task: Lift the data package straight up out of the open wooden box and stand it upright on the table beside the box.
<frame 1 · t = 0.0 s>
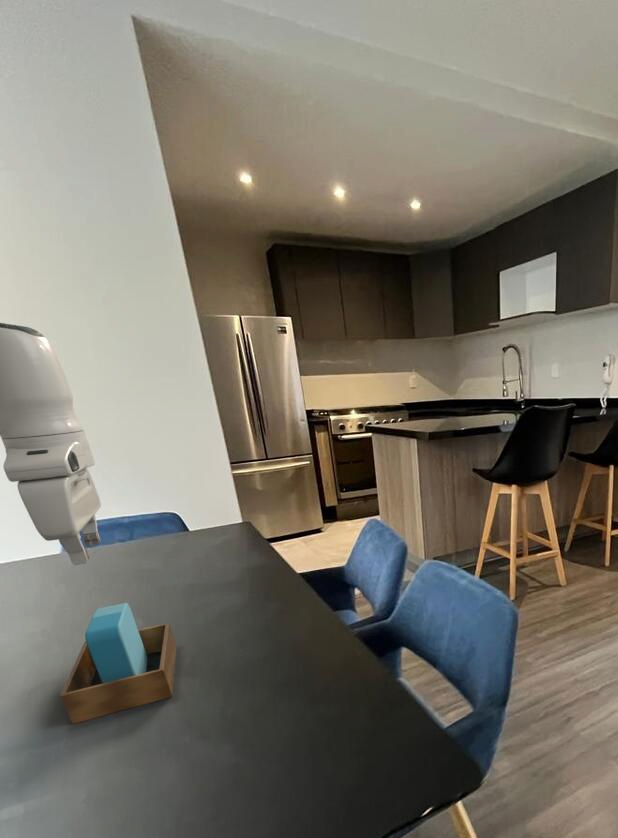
hand: (88, 553, 71), 23 cm above the table, tool pointing down, fingers open, 8 cm apart
wooden box: (130, 680, 82), on the table
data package: (131, 681, 82), resting in wooden box
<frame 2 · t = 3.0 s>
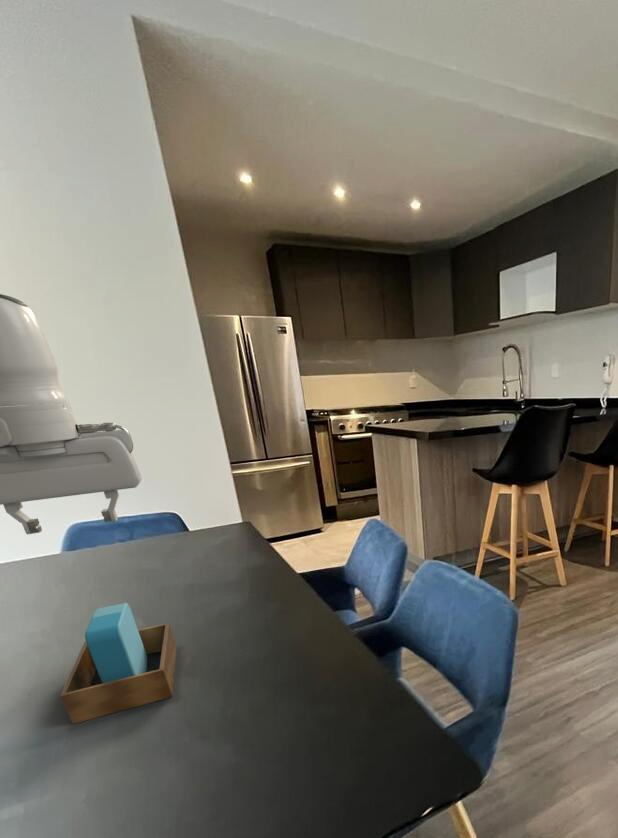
hand: (74, 526, 72), 27 cm above the table, tool pointing down, fingers open, 8 cm apart
nothing on the table moved.
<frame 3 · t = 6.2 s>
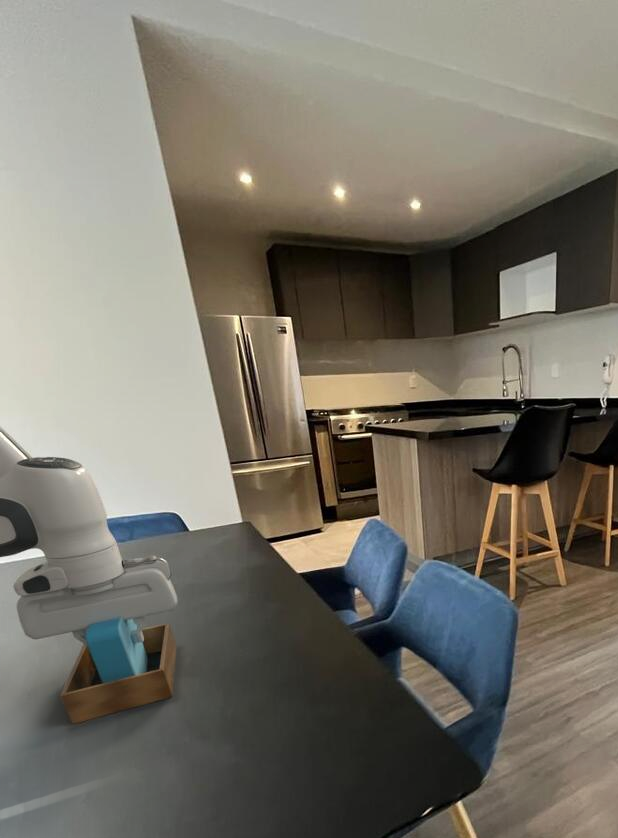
hand: (118, 646, 80), 7 cm above the table, tool pointing down, fingers closed on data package, 4 cm apart
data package: (131, 681, 82), resting in wooden box, touching gripper
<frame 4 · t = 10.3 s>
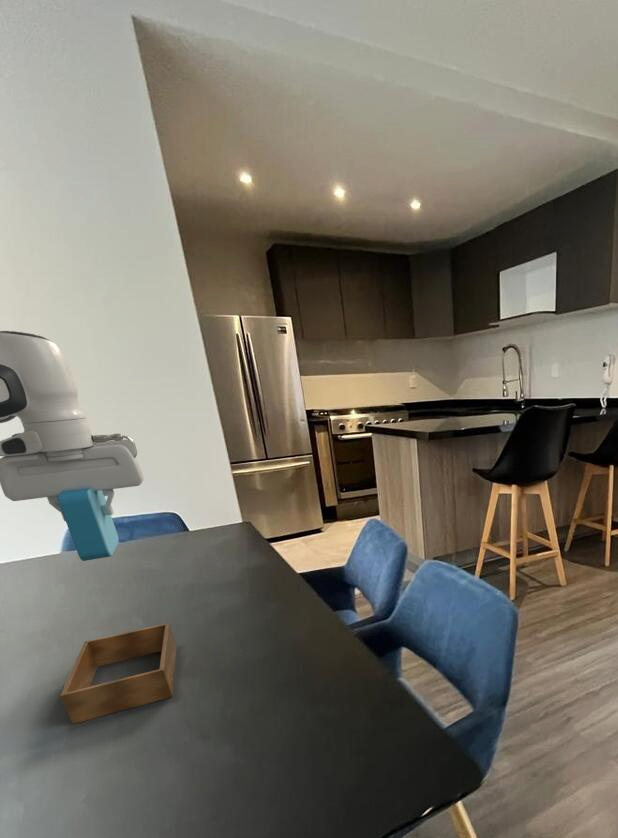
hand: (89, 517, 89), 24 cm above the table, tool pointing down, fingers closed on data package, 4 cm apart
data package: (102, 552, 92), point 17 cm above the table, touching gripper
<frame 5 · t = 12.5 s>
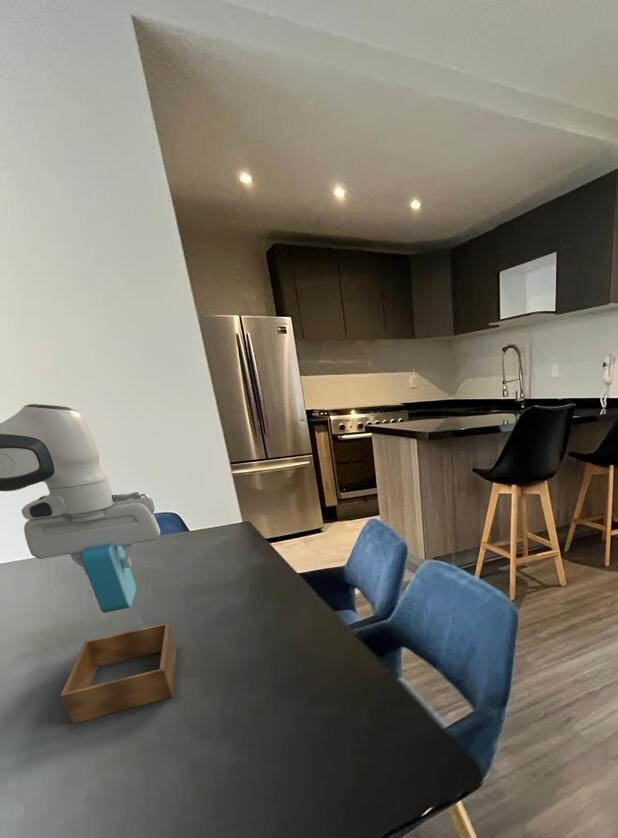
hand: (109, 570, 94), 13 cm above the table, tool pointing down, fingers closed on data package, 4 cm apart
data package: (121, 602, 97), point 7 cm above the table, touching gripper
when the fingers open (6 cm above the table, at t = 14.5 s): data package stays where it is, on the table.
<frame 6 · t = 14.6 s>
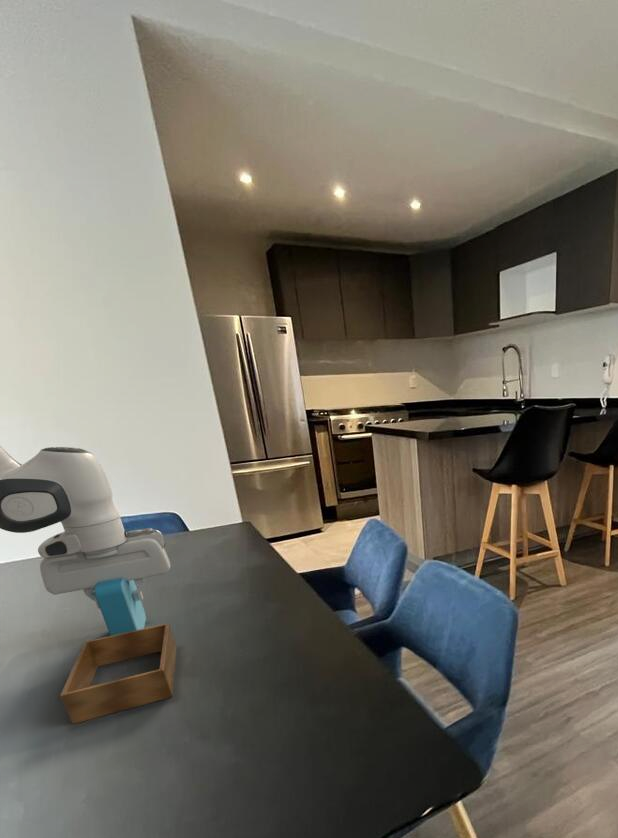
hand: (121, 603, 97), 6 cm above the table, tool pointing down, fingers open, 5 cm apart
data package: (131, 632, 99), on the table
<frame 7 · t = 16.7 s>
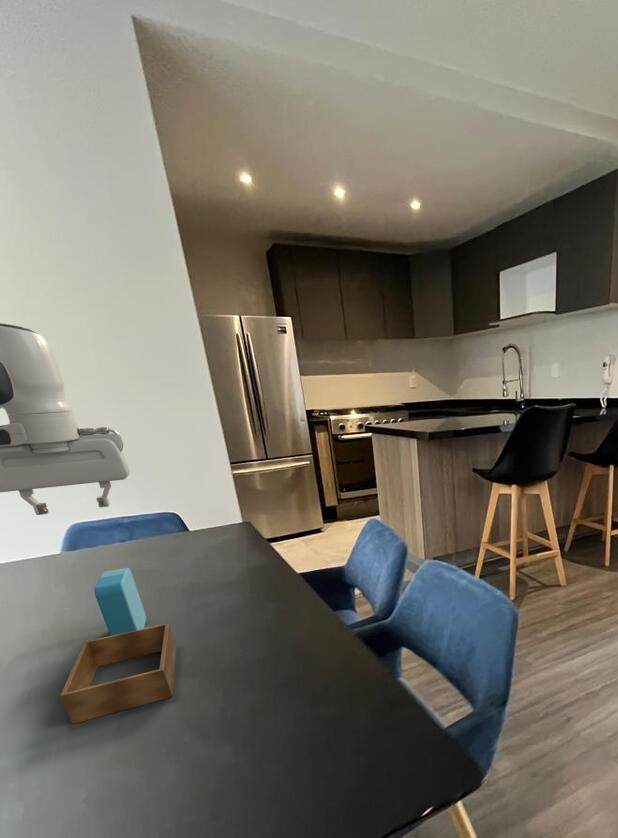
hand: (74, 510, 89), 25 cm above the table, tool pointing down, fingers open, 8 cm apart
nothing on the table moved.
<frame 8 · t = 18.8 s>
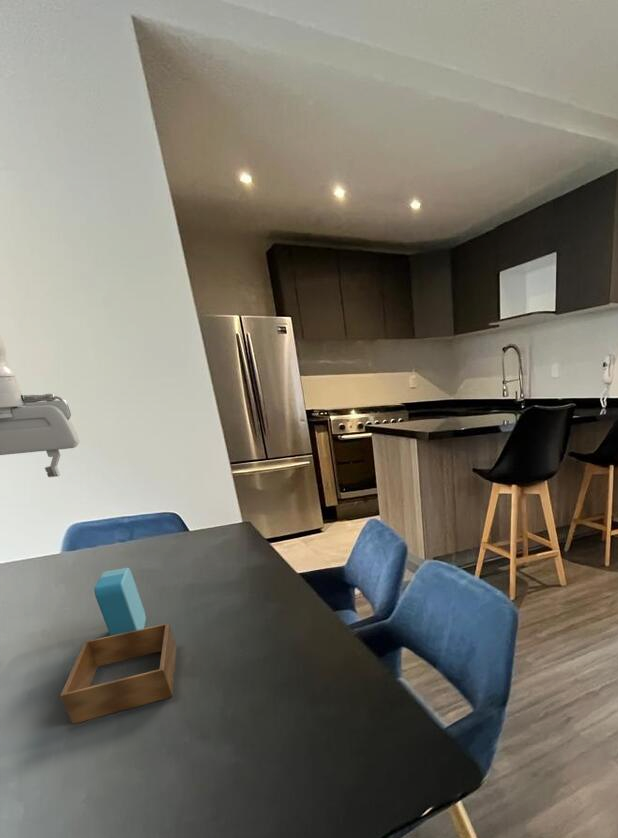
hand: (22, 480, 88), 31 cm above the table, tool pointing down, fingers open, 8 cm apart
nothing on the table moved.
at the end: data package inside the target area (0.0 cm from its centre), on the table; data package tilted 0°; the gripper is holding nothing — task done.
